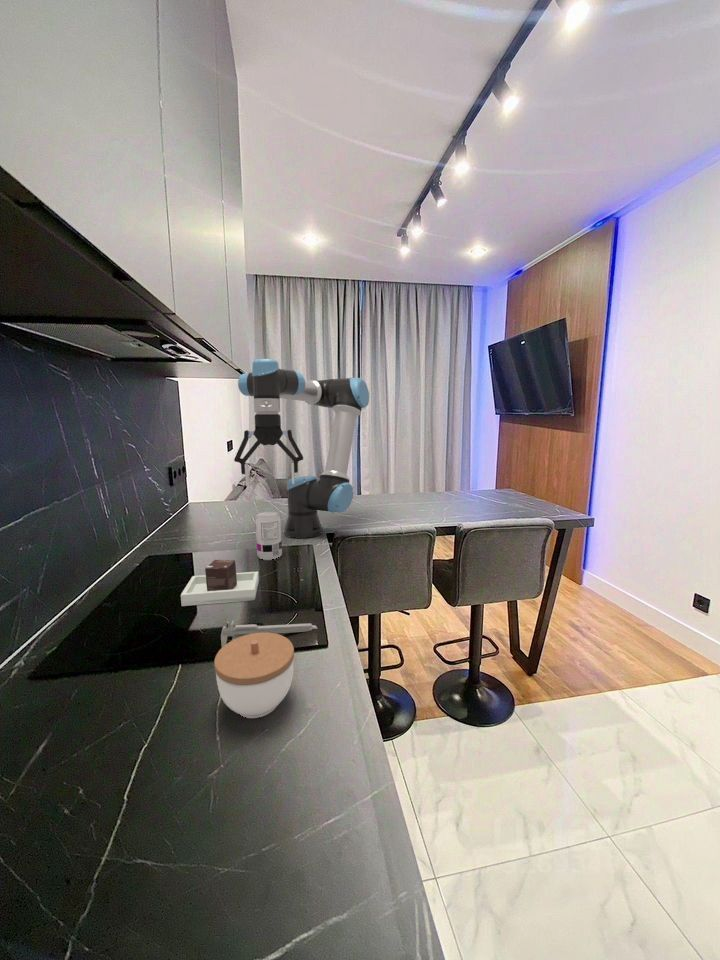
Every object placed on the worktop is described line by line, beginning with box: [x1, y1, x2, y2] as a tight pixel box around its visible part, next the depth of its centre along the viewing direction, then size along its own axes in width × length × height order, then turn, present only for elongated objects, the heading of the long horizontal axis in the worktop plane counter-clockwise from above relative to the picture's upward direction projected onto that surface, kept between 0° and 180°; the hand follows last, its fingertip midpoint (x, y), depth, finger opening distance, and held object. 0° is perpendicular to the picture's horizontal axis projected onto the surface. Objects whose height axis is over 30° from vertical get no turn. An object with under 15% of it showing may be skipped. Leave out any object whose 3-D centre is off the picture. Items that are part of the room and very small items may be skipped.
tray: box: [180, 571, 260, 607], centre depth 106 cm, size 12×18×3 cm, turn 100°
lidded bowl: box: [213, 633, 295, 719], centre depth 65 cm, size 13×13×11 cm
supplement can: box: [255, 510, 283, 561], centre depth 132 cm, size 8×8×15 cm
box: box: [204, 559, 237, 591], centre depth 106 cm, size 6×6×7 cm
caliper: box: [220, 620, 318, 648], centre depth 84 cm, size 20×1×6 cm, turn 115°
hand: (270, 484), depth 120 cm, fingers open, 13 cm apart
